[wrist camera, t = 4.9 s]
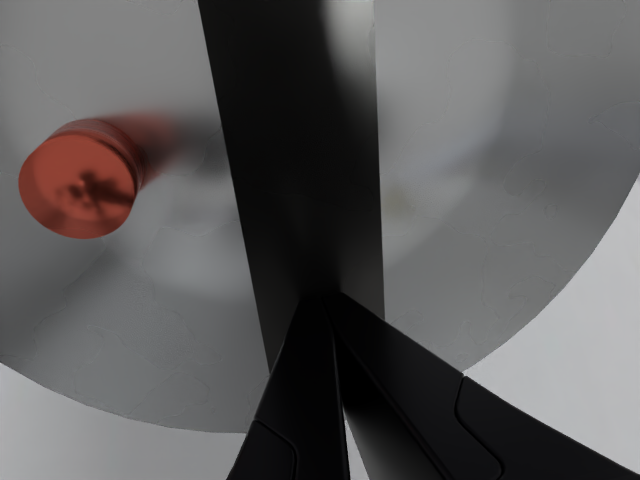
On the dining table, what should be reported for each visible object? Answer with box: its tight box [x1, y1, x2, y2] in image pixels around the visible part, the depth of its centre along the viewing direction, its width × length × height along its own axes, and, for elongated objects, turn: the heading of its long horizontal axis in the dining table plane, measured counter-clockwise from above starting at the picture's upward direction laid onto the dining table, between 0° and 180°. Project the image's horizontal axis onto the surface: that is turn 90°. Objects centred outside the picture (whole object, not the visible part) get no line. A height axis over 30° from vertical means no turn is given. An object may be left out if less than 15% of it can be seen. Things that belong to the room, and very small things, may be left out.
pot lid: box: [0, 0, 640, 433], centre depth 9 cm, size 15×15×2 cm
